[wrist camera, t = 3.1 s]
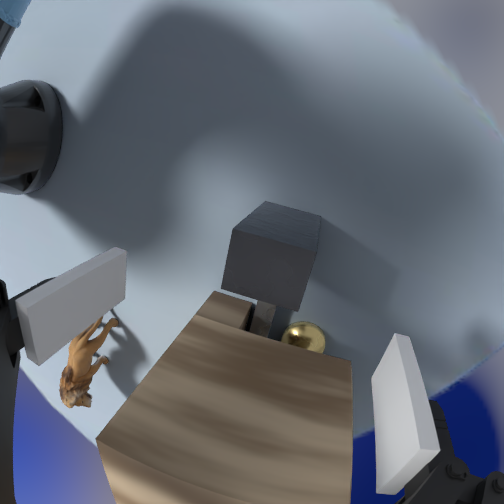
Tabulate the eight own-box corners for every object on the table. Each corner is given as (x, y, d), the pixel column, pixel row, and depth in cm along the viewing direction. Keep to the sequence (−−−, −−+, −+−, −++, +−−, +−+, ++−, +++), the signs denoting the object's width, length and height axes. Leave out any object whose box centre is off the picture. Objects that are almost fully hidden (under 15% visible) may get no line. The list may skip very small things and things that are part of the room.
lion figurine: (114, 384, 41) (81, 422, 33) (86, 366, 42) (52, 400, 33) (121, 308, 36) (75, 346, 27) (88, 289, 36) (40, 321, 28)
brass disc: (289, 314, 31) (287, 320, 30) (331, 326, 30) (331, 333, 29) (278, 349, 33) (276, 355, 32) (317, 360, 32) (316, 366, 31)
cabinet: (214, 290, 32) (95, 438, 13) (358, 333, 30) (364, 521, 11) (194, 406, 38) (125, 526, 20) (303, 439, 36) (274, 574, 18)
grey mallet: (265, 201, 28) (232, 228, 19) (320, 216, 27) (316, 252, 18) (223, 383, 36) (193, 445, 26) (263, 396, 35) (242, 462, 26)
